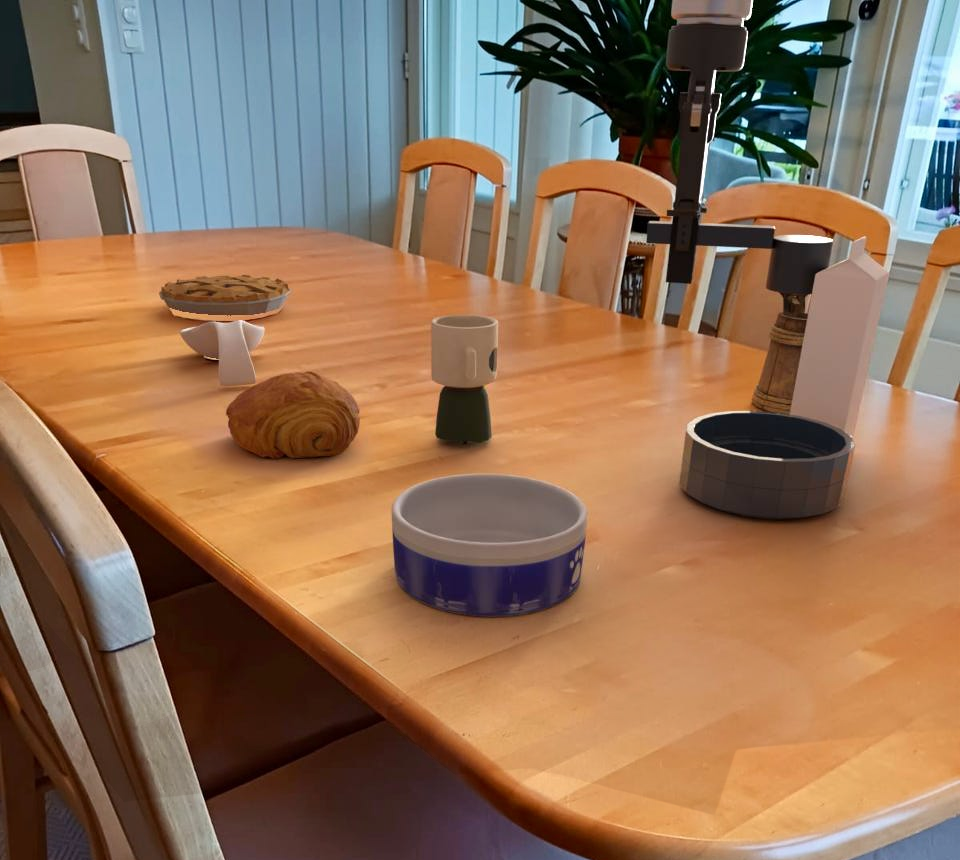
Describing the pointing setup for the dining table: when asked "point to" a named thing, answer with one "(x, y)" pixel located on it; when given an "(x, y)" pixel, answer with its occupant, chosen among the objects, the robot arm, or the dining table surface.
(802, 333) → the brown wooden tall piece
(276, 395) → the croissant
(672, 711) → the dining table surface
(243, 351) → the spoon rest
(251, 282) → the pie
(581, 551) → the dog bowl
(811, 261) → the ladle
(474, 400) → the character mug
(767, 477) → the serving bowl
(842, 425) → the milk
